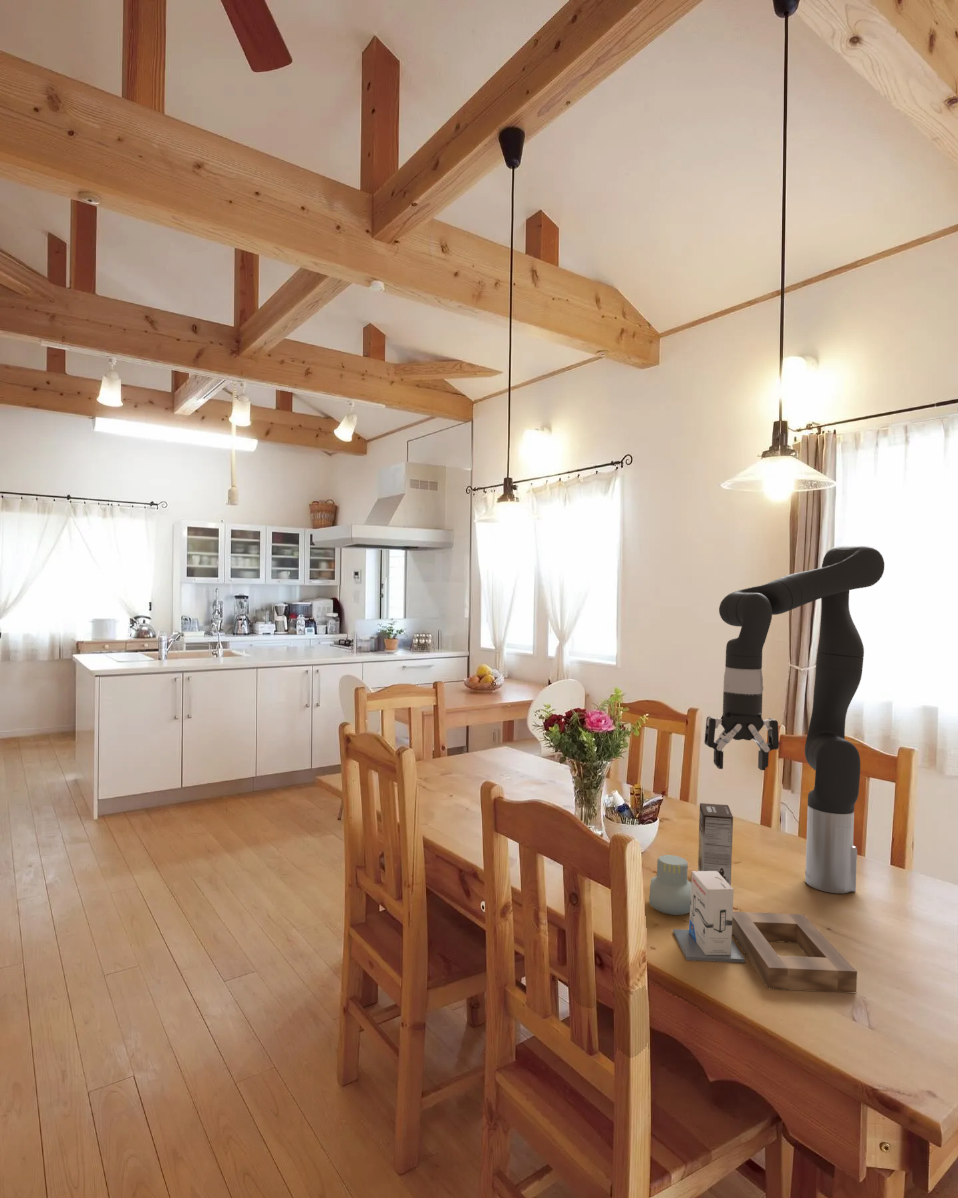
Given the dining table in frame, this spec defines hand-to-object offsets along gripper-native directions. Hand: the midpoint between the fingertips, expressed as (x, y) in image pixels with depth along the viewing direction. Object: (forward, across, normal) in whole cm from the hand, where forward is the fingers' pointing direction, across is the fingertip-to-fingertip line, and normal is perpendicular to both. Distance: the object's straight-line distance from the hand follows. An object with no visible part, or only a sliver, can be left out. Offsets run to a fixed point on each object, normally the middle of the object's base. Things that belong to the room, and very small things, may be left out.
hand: (740, 768), depth 144 cm
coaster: (+28, +11, +18) cm, 35 cm away
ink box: (+28, +11, +18) cm, 35 cm away
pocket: (+28, -2, +21) cm, 35 cm away
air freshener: (+28, +14, +3) cm, 32 cm away
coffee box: (+28, +1, -12) cm, 31 cm away
